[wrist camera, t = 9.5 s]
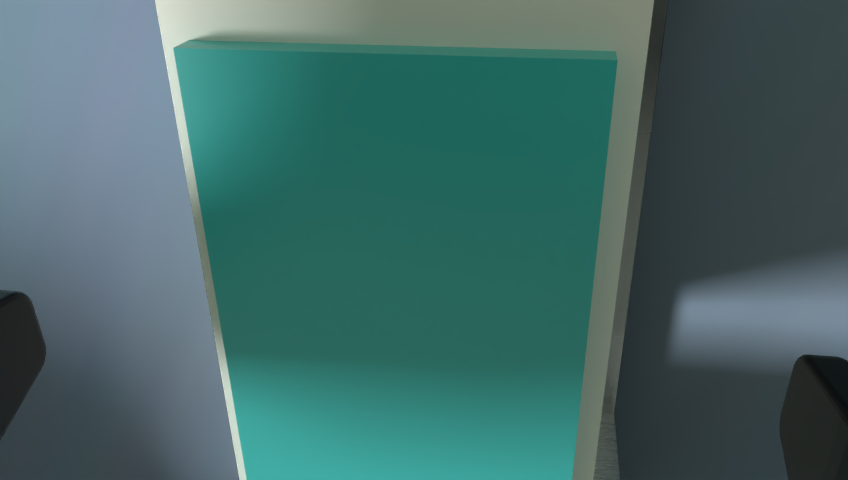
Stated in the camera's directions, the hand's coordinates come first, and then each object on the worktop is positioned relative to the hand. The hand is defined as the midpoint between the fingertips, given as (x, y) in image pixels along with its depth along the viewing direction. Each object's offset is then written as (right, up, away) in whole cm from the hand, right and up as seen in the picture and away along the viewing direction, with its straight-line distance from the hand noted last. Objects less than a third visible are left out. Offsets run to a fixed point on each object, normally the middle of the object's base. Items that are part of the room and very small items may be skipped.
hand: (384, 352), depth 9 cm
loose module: (+1, +3, +6) cm, 7 cm away
